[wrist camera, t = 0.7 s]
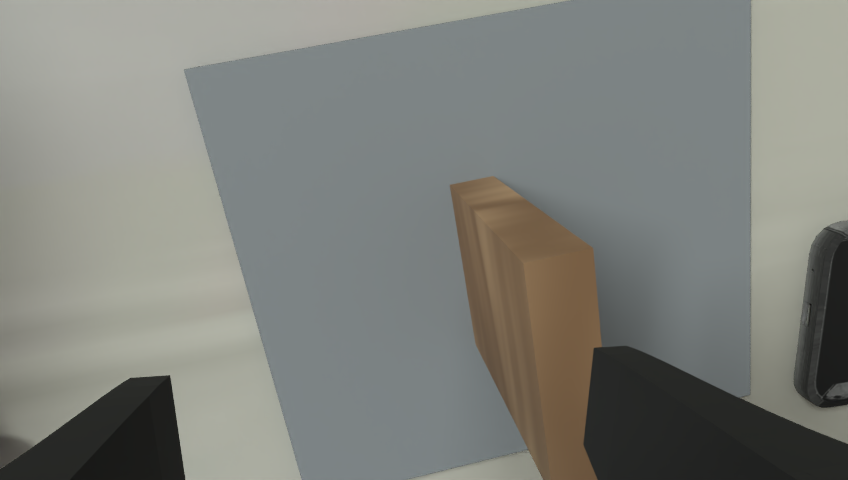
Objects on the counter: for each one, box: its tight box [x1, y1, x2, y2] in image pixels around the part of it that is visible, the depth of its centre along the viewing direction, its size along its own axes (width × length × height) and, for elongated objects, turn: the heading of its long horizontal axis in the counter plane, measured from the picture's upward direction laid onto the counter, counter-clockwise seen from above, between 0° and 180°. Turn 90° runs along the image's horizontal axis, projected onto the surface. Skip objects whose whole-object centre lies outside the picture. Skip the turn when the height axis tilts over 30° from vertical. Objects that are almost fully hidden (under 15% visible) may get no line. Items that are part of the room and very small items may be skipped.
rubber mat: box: [184, 0, 751, 480], centre depth 21 cm, size 18×16×1 cm
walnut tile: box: [450, 176, 602, 480], centre depth 17 cm, size 2×6×8 cm, turn 10°
